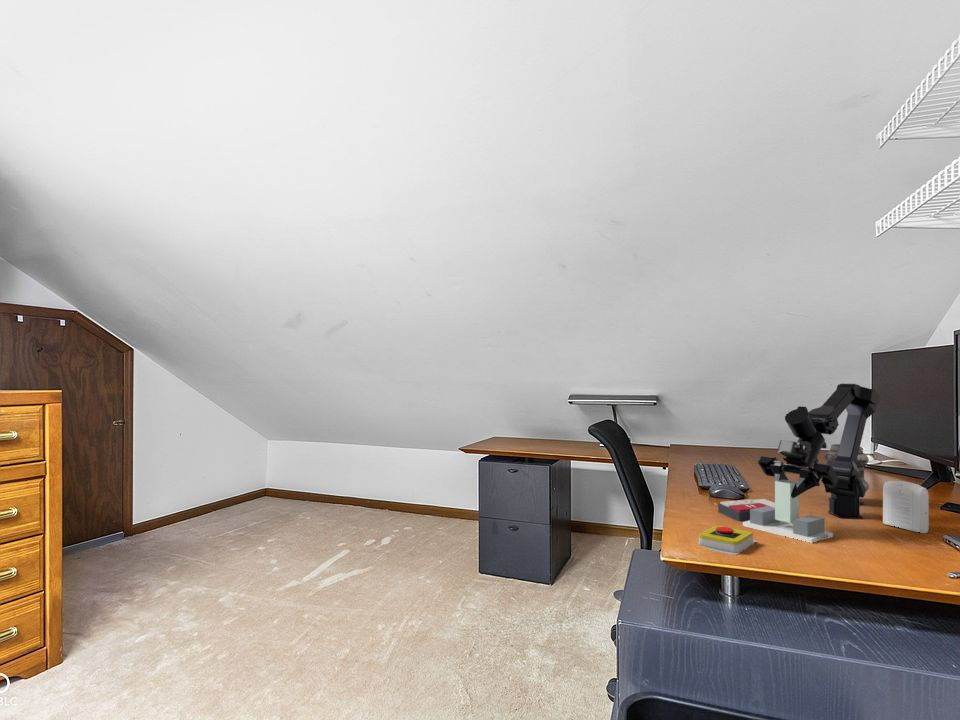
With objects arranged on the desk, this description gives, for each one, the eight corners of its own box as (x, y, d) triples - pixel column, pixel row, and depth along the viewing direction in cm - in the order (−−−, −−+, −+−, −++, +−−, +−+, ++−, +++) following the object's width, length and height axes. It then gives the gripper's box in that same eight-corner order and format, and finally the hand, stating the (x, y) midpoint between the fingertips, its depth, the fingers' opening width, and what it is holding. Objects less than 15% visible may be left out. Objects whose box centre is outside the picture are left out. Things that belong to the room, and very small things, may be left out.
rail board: (742, 525, 152) (742, 508, 152) (764, 520, 157) (764, 504, 157) (811, 543, 136) (811, 524, 136) (833, 537, 142) (832, 518, 142)
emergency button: (694, 530, 133) (718, 518, 144) (694, 549, 133) (718, 535, 144) (735, 538, 127) (757, 525, 138) (735, 558, 127) (757, 543, 138)
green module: (783, 517, 150) (783, 479, 150) (798, 520, 146) (798, 482, 147) (775, 519, 148) (774, 480, 148) (790, 523, 144) (790, 483, 144)
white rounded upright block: (932, 532, 146) (931, 484, 147) (922, 534, 145) (921, 485, 145) (889, 522, 156) (889, 477, 156) (880, 524, 154) (879, 478, 154)
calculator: (717, 500, 167) (764, 496, 169) (717, 515, 167) (765, 511, 169) (738, 509, 156) (788, 505, 158) (739, 525, 156) (789, 520, 158)
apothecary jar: (855, 508, 173) (854, 448, 173) (816, 500, 183) (815, 444, 184) (877, 504, 178) (876, 446, 179) (838, 496, 189) (837, 442, 189)
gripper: (761, 426, 157) (737, 469, 151) (832, 432, 142) (808, 481, 136) (777, 453, 161) (754, 496, 155) (848, 461, 146) (826, 510, 140)
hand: (783, 495), depth 146 cm, fingers closed on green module, 4 cm apart
